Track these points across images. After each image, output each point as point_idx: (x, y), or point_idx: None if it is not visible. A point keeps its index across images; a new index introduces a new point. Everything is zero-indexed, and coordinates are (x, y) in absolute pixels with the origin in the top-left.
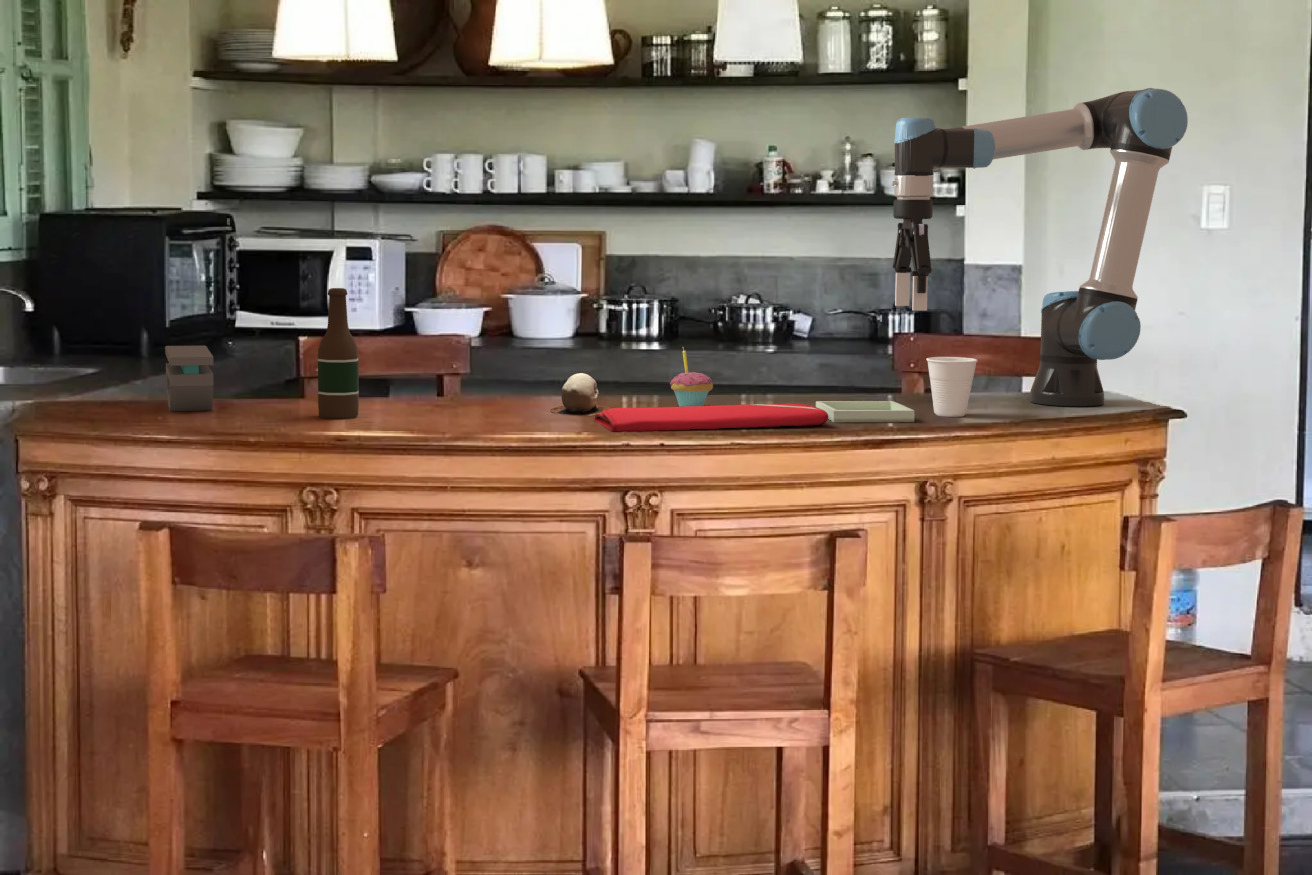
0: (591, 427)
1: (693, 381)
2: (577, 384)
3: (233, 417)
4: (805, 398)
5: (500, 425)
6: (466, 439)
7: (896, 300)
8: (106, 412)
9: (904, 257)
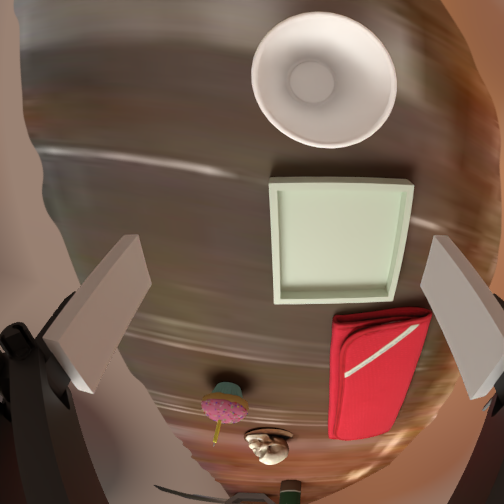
0: None
1: (245, 414)
2: (283, 459)
3: None
4: None
5: (339, 456)
6: (392, 456)
7: (143, 297)
8: None
9: (84, 473)
